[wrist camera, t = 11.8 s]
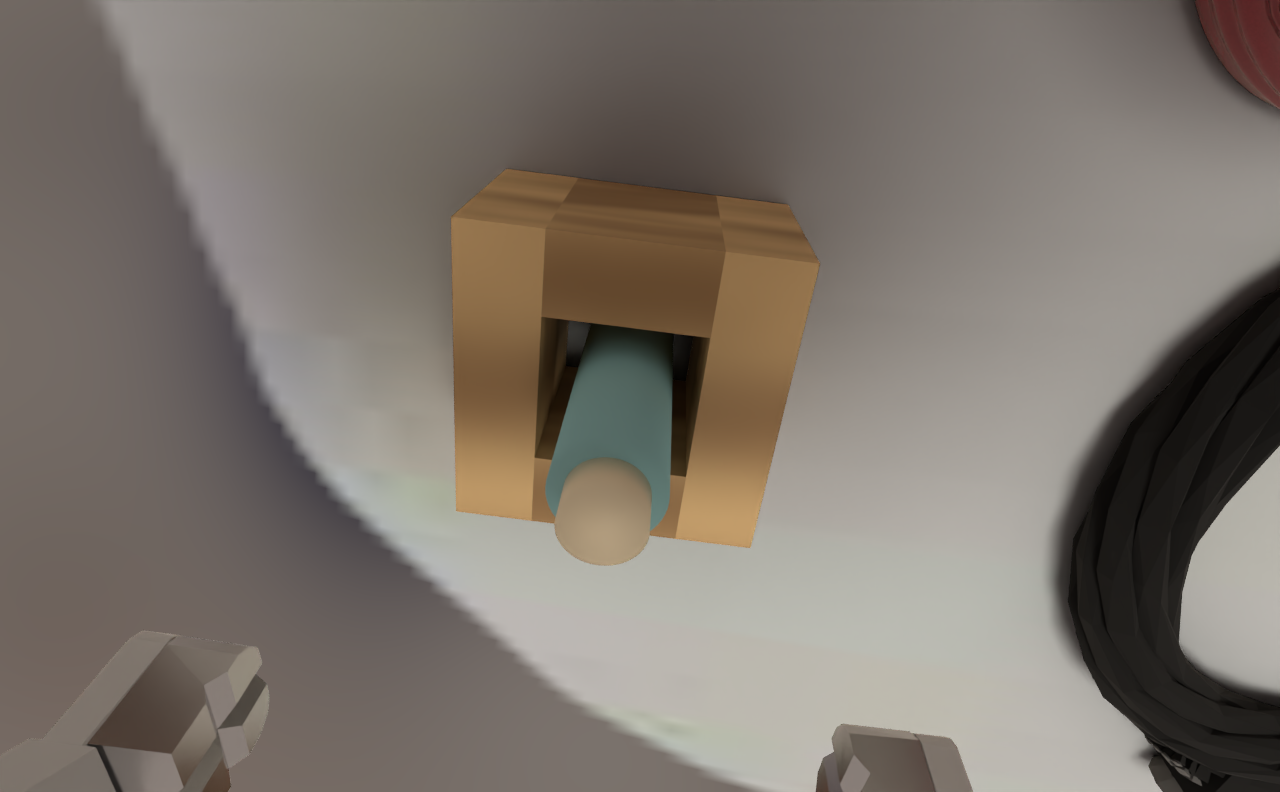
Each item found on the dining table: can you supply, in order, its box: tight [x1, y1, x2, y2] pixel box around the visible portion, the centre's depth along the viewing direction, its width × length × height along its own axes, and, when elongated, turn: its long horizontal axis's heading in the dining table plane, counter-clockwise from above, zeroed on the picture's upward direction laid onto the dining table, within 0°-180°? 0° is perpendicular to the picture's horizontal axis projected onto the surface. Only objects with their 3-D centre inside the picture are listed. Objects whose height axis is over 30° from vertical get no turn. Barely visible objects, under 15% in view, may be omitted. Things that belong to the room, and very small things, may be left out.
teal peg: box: [545, 323, 674, 566], centre depth 20 cm, size 3×3×11 cm
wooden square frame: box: [451, 169, 820, 548], centre depth 22 cm, size 9×9×6 cm
